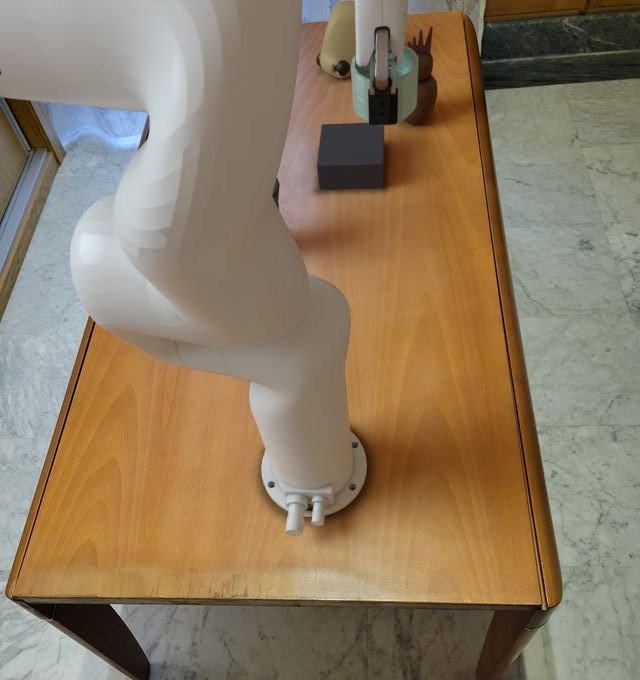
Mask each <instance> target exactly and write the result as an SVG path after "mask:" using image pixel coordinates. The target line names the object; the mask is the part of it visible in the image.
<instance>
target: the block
mask: <svg viewBox="0 0 640 680" xmlns="http://www.w3.org/2000/svg"><path fill="white" fill-rule="evenodd" d="M319 135H320V136H319V144H318V153H317V155H318V156H317V162H316V170H317V179H318V180H317V181H318V188H319V190H320V191H323V190H326V191H327V190H363V189H364V190H365V189H383V188H384V168H385V167H384V166H385V165H384V164H385V126H379V125H370V124H369V123H367V122H347V123H343V122H342V123H322V124H321V126H320V134H319Z"/></svg>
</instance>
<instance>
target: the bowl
mask: <svg viewBox="0 0 640 680" xmlns="http://www.w3.org/2000/svg"><path fill="white" fill-rule="evenodd" d="M392 59H393V53H388V60H392ZM374 60H376V54H374ZM369 63H370V61H369ZM369 63H368V65H367V66H362V67H359V66H358V65H357V63H356V55H355V56H354V57H353V59H352V62H351V75H350V76H351V77H350V78H351V95H352V97H351V98H352V109H353V111H354V113H355V114H356V116H357V117H359V118H360V119H361V120H362V121H364V123H369V110H368V89H370V65H369ZM375 72H376V67H375ZM388 77H390V78H391V67H388ZM417 83H418V56H417V54H416V53H415V52H414V50H412V49H411V48H409V47H407V45H405V44H404V51H403V59H402V62H401V63H400V64H399V65H397V64H396V88H398V122H397V124H398V123H399V124H400V123H401V122H404V121H403V120H404V119H406V118H407V117H408V116H409V115H410V114H412V112H413V111H414V109H415V107H416V105H417ZM379 126H384V127H385V126H388V125H379Z"/></svg>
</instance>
